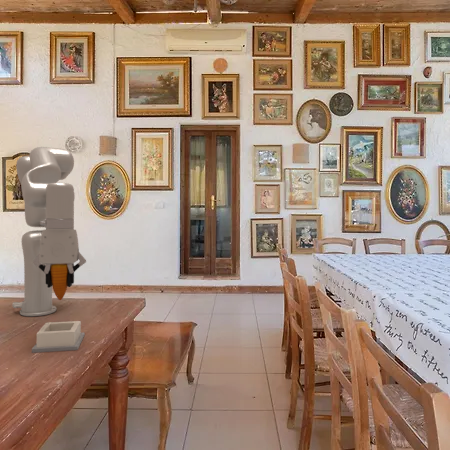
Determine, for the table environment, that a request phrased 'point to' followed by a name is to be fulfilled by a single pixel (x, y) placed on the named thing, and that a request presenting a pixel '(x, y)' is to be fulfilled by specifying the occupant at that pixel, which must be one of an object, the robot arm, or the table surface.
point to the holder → (59, 337)
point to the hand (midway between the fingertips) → (60, 285)
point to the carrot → (59, 279)
